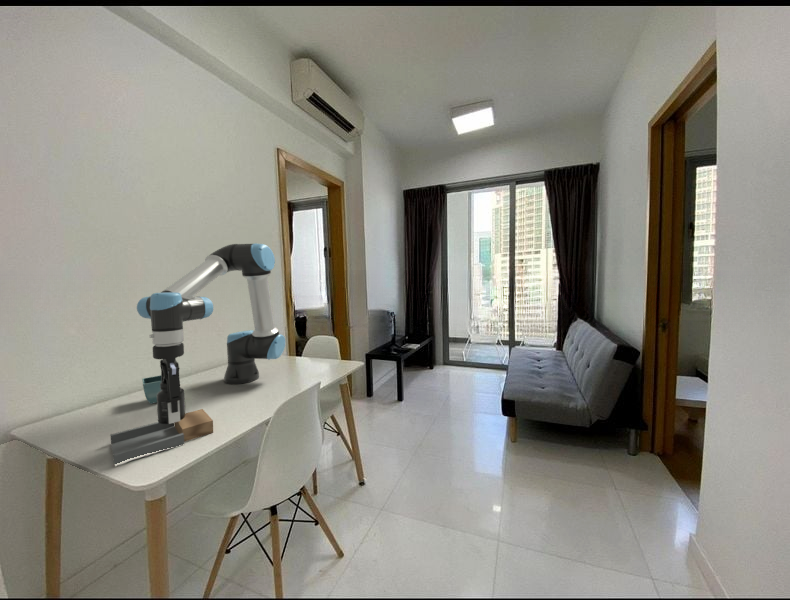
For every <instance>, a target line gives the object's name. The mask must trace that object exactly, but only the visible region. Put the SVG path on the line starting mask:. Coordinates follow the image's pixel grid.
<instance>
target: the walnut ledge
mask: <svg viewBox="0 0 790 600" xmlns="http://www.w3.org/2000/svg"><path fill="white" fill-rule="evenodd" d="M174 426H175V428H176V430H177V431H178V433H179V434H181V433H183V434H184V443H185V442H188V441H191V440H195V439H197V438H200V437H204V436H206V435H210V434H213V433H214V420H213V419H212V417H211V416H209V414H208V413H207V412H206V411H205V410H204V409H203V408H200V409H197V410H193V411H190V412H185V417H184V418H183V419H182V420H180V421H178V422H175V423H174Z"/></svg>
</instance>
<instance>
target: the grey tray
mask: <svg viewBox="0 0 790 600" xmlns="http://www.w3.org/2000/svg"><path fill="white" fill-rule="evenodd" d="M183 444H184V445H185V442H184V434H183V433H181V434H179V433H178V431H177V430H176V428H175V426H174V423H171V424H160V423H159V422H158V421H156V422H153V423H148V424H145V425H141V426H138V427H133V428H131V429H126V430H125V429H124V430H122V431H118V432H115V433H110V445H111V452H112V458H113V459H114V460H113V459H112V460H113V465H114V464H117V463H120V462H122V461H125V460H127V459H130V458H134V457H137V456H140V455H144V454H147V453H152V452H156V451H159V450H163V449H167V448H171V447H174V448H177V447H176V446H178V447H180V446H179V445H181V446H183ZM171 449H172V448H171Z"/></svg>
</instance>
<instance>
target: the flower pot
mask: <svg viewBox="0 0 790 600" xmlns="http://www.w3.org/2000/svg"><path fill="white" fill-rule="evenodd" d="M141 380H142V381H141V382H142V388H143V392H144V397H145V399H146V400H147V402H148V403H149V404H151V405H152V404H155V403H156V404H157V394H158V392H160V391H161V389H160V383H161V374H160V375H156V376H149V377H143V378H141Z"/></svg>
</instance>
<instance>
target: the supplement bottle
mask: <svg viewBox="0 0 790 600" xmlns="http://www.w3.org/2000/svg"><path fill="white" fill-rule="evenodd" d="M160 389H161V391H160V392H158V394H157V403H156V409H157V410H156V411H157V422H159V423H160V424H169V419H168V403H166V401H168V400H169V399H168V390H167V381H163V382H161V383H160ZM180 394H181V400H179V404H180V420H182V419H183V418H184V417H185V413H186V400H185V398H186V397H185V390H184V388H182V387H180ZM176 397H177V396H176Z"/></svg>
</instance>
